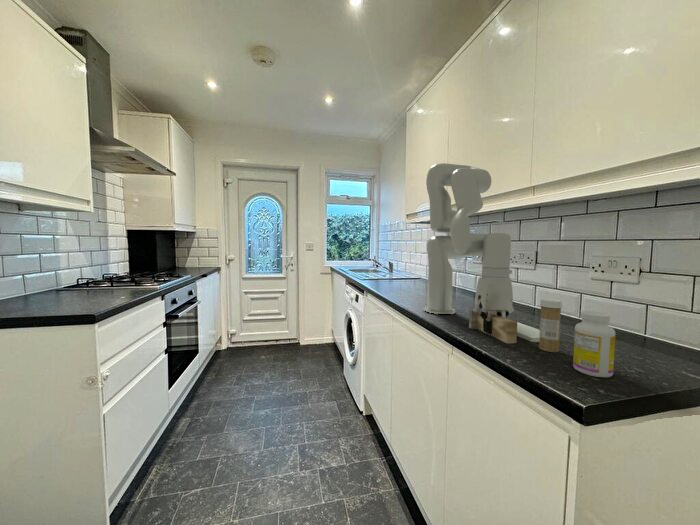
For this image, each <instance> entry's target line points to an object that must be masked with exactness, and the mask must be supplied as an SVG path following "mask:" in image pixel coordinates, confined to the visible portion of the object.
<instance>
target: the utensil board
mask: <svg viewBox="0 0 700 525" xmlns="http://www.w3.org/2000/svg"><path fill="white" fill-rule="evenodd" d="M516 322H517V338H518V337H519V338H521V339H524V340H526V341H529V342H530V343H539V341H540V336H539V335H540V329H538V328H535V327H533V326H529V325H527V324H523V323H521V322H518V321H516Z"/></svg>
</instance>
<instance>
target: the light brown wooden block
mask: <svg viewBox="0 0 700 525" xmlns="http://www.w3.org/2000/svg"><path fill="white" fill-rule="evenodd" d="M473 310H474V309H473ZM473 310H469V315H468V316H469V317H468V318H469V319H468V320H469V321H468V329H470V328H471V329H470V330H478V329H479V330H478V331H480V330H481V331H480V332H482V331H483V319H482V317H481V316H480V315H479V314H477V313H476V312H474V311H473ZM482 310H483V309H481V311H482ZM486 315H487V314H486ZM490 321H492V334H488V333H486V332H484V331H483V332H482V333H484V334H487V335H488V336H490V335H491V337H492V336H493V337H492V338H494V337H495V339H496V340H499V341H501V342H503V343H505V344H517V338H518V336H517V322H518V321H515V320H513V319H510V318H507V317H506V318H504V317H501V316H499V315H496V313H493V312H492V313H491V320H490Z"/></svg>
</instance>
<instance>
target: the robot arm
mask: <svg viewBox="0 0 700 525" xmlns="http://www.w3.org/2000/svg"><path fill="white" fill-rule="evenodd" d="M425 180H426V182H425V184H426V190H427V194H428V200H429V224H430V229H431V231H432V232H435V233H440V234H441V233H443V234H444V233H445V234H449V235H435V236H432V237H430V238H429V239H428V240H427V243H426V251H427V252H426V253H427V260H428V272H427V274H428V278H427V283H428V284H427V299H426V303H427V306H424V307H423V312H425V311H426V312H425V313H427V312H429V313H428V314H431V313H434V314H433V315H438V314H451V315H454V314H455V313H456V309H455V308H452V300H453V297H452V296H453V268H452V264H451V262H449V260H461V259H462V260H463V259H465V258H467V257H482V263H481V264H482V265H481V266H482V267H481V276H480V277H479V278H478V281H477V285H476V290H475V297H474V308H473V311H474V312H476V313H477V314H479V315H480V316H481V317H482V319H483V331H484V332H486V333H488V334H492V321H490V320H491V313H493V312H495V314H496V315H499V316H501V317H504V318H507V317H508V316H509V314H512V313H514V311H515V308H514V306H513V302H514V301H513V300H514V299H513V298H514V296H513V294H514V293H513V284H512V279H511V278H510V275H512V273H513V270H512V269H511V253H512V252H511V250H512V247H511V246H512V237H511V235H510V233H505V232H491V233H490V232H489V233H479V232H477V233H476V232H474V233H473V232H471V227H470V226H471V224H470V217H469V216H472V215H475V214H477V213H478V212H479V211H481V210H482V208H483V206H484V202H483V198H482V196H481V194H484V193H486V192H488V191H489V189H490V188H491V186H492V177H491V174H490V172H489V171H487V170H486V169H482V168H480V167H475V166H472V165H465V164H456V163H446V162H445V163H443V162H442V163H436V164H434V165H432V166H431V167H430V168H429V169H428V172H427V174H426V179H425ZM446 187H451V190H452V195H453V198H454V202H455V207H456V209H453V207H452V198H451V196H450V193H449V192H448V190H447V189H446ZM481 310H482V311H481ZM486 314H487V315H486ZM484 332H483V333H484ZM486 333H485V334H486ZM488 334H487V335H488Z"/></svg>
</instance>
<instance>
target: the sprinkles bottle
mask: <svg viewBox="0 0 700 525" xmlns="http://www.w3.org/2000/svg"><path fill="white" fill-rule="evenodd" d="M539 305H540V320H539V330H540V335H539V336H540V341H539V342H538V343H539V344H538V349H540V350H542V351H545V352H548V353H559V352H560V338H561V313H562V312H561V310H562V308H563V301H562V300H560V299H556V298H541V299H540V304H539Z"/></svg>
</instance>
